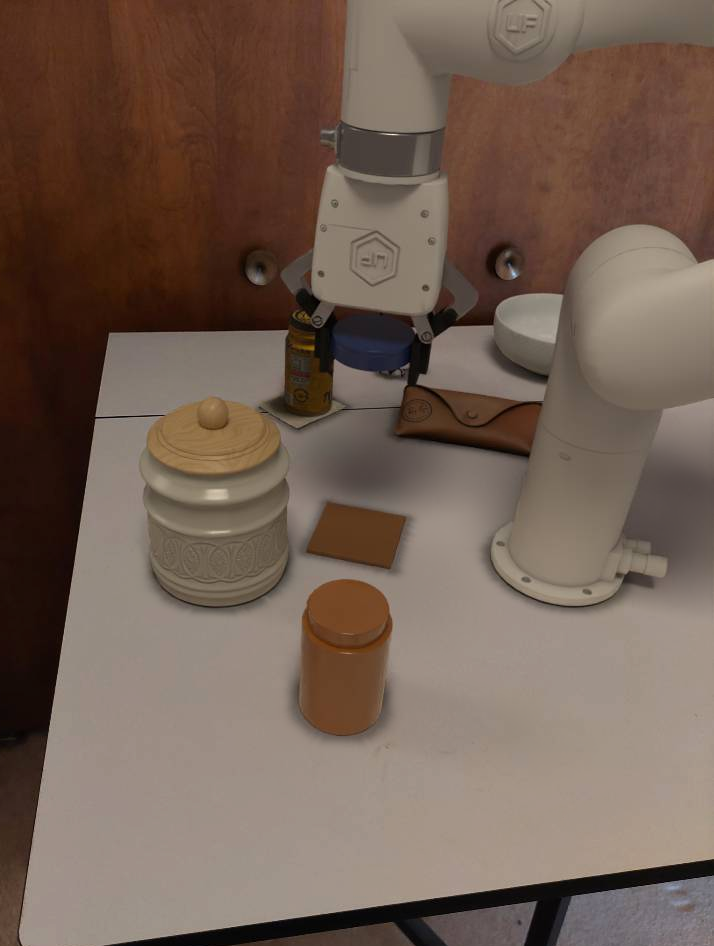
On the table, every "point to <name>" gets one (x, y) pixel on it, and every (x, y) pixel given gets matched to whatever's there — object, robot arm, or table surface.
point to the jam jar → (344, 656)
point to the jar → (216, 502)
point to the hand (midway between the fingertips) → (370, 371)
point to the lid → (372, 342)
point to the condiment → (303, 378)
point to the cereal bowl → (528, 329)
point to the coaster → (357, 535)
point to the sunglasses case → (468, 419)
